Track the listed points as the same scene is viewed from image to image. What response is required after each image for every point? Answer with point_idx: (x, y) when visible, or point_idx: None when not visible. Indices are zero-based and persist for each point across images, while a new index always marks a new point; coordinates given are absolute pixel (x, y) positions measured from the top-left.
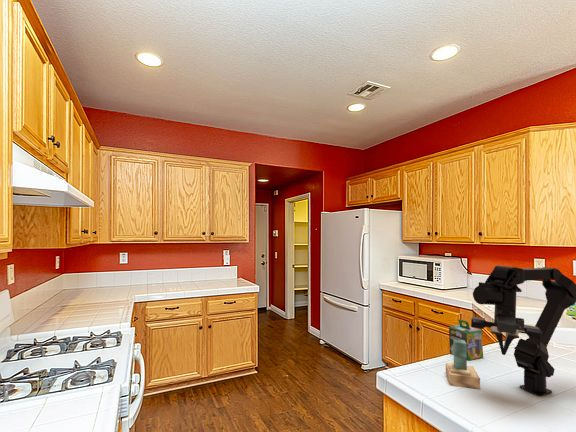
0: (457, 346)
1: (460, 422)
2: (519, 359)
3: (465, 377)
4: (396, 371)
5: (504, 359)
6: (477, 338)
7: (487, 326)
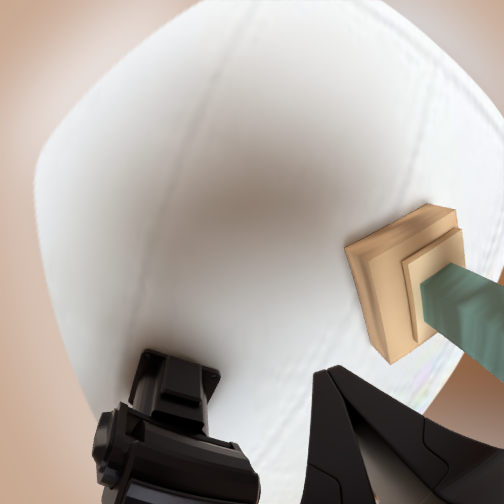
0: None
1: None
2: (223, 456)
3: (412, 232)
4: None
5: (289, 492)
6: (376, 500)
7: None
